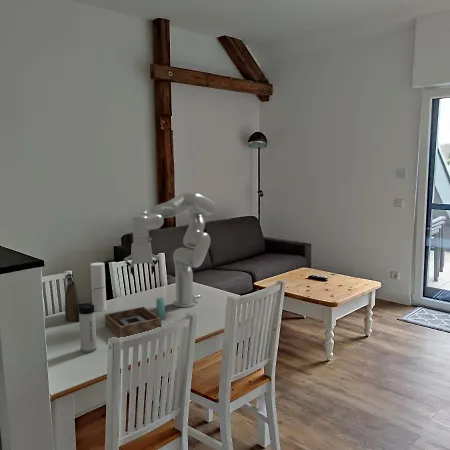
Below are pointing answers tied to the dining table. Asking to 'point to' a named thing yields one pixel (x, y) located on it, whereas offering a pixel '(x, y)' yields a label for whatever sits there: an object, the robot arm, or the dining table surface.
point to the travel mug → (87, 327)
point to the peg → (160, 308)
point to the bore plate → (130, 320)
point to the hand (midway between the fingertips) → (142, 274)
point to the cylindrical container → (98, 286)
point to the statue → (71, 301)
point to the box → (131, 329)
